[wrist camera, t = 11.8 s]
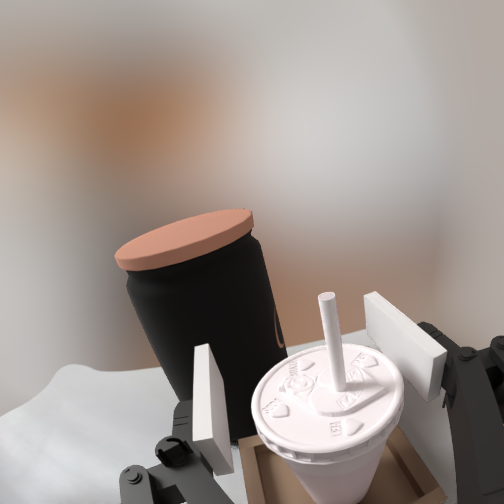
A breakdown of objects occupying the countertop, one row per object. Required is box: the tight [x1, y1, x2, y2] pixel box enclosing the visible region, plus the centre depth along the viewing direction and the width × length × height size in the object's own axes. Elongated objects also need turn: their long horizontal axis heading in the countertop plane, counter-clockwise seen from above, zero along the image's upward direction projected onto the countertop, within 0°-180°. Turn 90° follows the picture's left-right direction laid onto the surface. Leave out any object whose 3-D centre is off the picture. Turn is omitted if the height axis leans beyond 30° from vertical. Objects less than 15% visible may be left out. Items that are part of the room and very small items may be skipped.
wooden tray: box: [238, 425, 447, 504], centre depth 15 cm, size 10×10×4 cm
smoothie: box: [251, 292, 404, 504], centre depth 12 cm, size 6×6×14 cm
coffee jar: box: [115, 209, 288, 441], centre depth 25 cm, size 11×11×18 cm
